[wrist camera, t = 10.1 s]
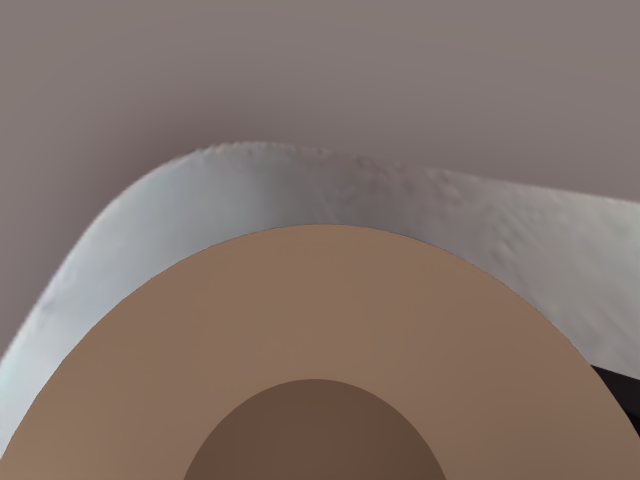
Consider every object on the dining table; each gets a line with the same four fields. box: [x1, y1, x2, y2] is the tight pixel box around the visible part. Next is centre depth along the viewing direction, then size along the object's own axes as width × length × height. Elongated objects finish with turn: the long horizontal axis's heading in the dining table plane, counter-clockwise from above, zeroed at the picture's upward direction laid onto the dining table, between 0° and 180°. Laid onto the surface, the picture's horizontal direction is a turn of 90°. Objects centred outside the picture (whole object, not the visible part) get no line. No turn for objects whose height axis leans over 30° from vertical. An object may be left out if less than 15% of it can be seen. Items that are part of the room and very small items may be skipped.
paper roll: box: [0, 224, 640, 480], centre depth 9 cm, size 6×6×13 cm
